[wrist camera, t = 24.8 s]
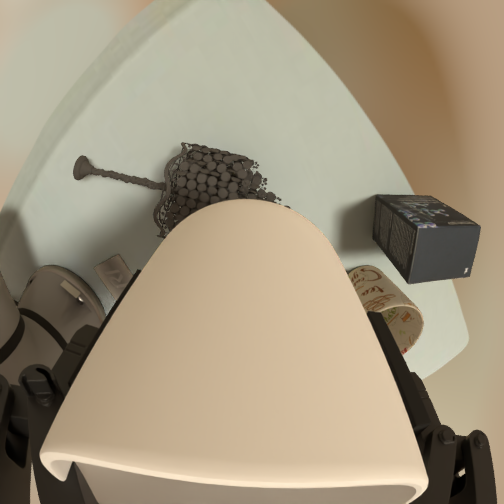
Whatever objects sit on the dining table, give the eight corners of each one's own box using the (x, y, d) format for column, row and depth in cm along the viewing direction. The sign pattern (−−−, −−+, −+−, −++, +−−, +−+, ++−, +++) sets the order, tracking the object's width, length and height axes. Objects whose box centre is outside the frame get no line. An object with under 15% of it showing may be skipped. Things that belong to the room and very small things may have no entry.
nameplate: (206, 374, 43) (181, 379, 44) (206, 372, 43) (181, 378, 44) (117, 255, 34) (93, 268, 35) (118, 253, 34) (94, 267, 35)
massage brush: (68, 229, 26) (106, 170, 31) (270, 289, 28) (281, 216, 33) (42, 165, 18) (98, 105, 23) (307, 234, 20) (312, 155, 25)
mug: (388, 248, 33) (425, 293, 24) (394, 321, 38) (419, 370, 29) (326, 268, 34) (346, 321, 25) (342, 338, 39) (358, 392, 30)
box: (430, 194, 29) (483, 226, 20) (424, 237, 32) (469, 279, 22) (374, 192, 30) (419, 227, 20) (370, 239, 32) (407, 287, 23)
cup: (251, 150, 10) (193, 380, 1) (399, 326, 14) (469, 487, 5) (126, 276, 13) (18, 460, 4) (285, 395, 17) (292, 544, 8)
